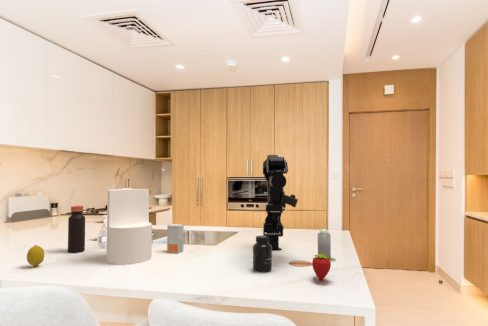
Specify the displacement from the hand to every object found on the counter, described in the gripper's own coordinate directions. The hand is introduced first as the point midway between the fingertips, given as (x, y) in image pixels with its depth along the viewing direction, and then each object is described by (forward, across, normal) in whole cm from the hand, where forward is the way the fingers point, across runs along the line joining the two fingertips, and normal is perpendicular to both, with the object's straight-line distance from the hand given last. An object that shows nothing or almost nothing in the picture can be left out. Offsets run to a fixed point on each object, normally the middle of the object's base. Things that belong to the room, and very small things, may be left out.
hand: (276, 227), depth 133 cm
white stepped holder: (+13, -8, +59) cm, 61 cm away
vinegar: (+13, 0, +89) cm, 90 cm away
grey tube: (+12, +4, -18) cm, 23 cm away
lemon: (+14, -25, +87) cm, 92 cm away
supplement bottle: (+14, -13, +4) cm, 19 cm away
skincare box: (+13, +7, +46) cm, 48 cm away
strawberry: (+14, -22, -17) cm, 30 cm away
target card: (+13, 0, -13) cm, 18 cm away
